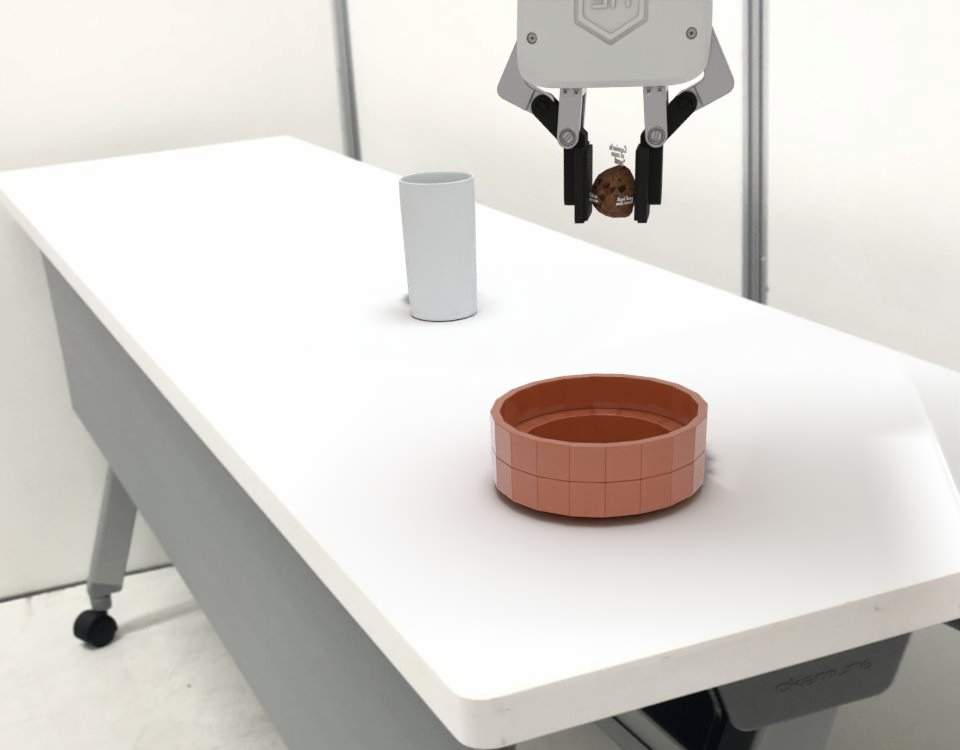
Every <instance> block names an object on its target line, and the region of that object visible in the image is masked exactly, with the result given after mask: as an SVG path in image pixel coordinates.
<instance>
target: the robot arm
mask: <svg viewBox="0 0 960 750" xmlns="http://www.w3.org/2000/svg"><path fill="white" fill-rule="evenodd" d="M516 1H517V2H516V41H515V43H514V45H513V48H512V50H511V52H510V55H509V57H508V60H507V63H506V65H505V67H504V69H503V72H502V74H501V76H500V79H499V81H498V84H497V87H496V93H497V95H498V97H499V98H500V99H502V100H504V101H506V102H508V103H510V104H511V105H513V106H515V107H517V108H519V109H521V110H523V111H525V112H528V113H530V114H532V115H533V116H534V117H535V118H536V120H537V121H538V122H539V123H541V125H543V127H544V128H545V129H546V130H547V131H548V132H549V133H550V134H551V136H553V137H554V139H556V141H557V144H558V145H559V147H561V148H562V149H563V205H564V206H573V208H574V209H573V210H574V211H573V212H574V213H573V215H574V217H573V218H574V224H575V225H576V224H577V225H579V224H585V223H586V222H589V219H590V217H591V215H592V213H593V204H592V201H590V200H589V198H590V192H591V189H592V185H593V183H594V179H593V175H594V174H593V173H594V168H593V166H594V158H593V157H594V144H592V143H591V141H590V140H589V131H587V130H586V129H585V123H586V109H587V94H588V89H599V88H601V89H603V88H606V89H607V88H636V87H637V88H638V87H642V99H643V101H642V102H643V118H644V119H643V120H644V129H643V130H642V131H641V134H640V137H639V138H640V139H639V143H638V144H637V146H636V149H635V152H634V155H635V156H634V157H635V159H634V179H635V194H634V207H633V221H635V222H637V224H647V223H648V220H649V217H650V212H651V206H661V204H662V197H663V171H664V170H663V169H664V145H665V143H666V142H667V141H668V140H669V139H670V138H671V137H672V135H674V133H675V132H676V131H677V130H678V129H679V128H680V127H681V126H682V125H684V123H685V122H686V121H687V120H688V119H689V118H690V117H691V116H692V115H693V114H694V113H695V112H697V111H698V110H701V109H702V108H704V107H706V106H709V105H710V104H712V103H714V102H716V101H717V100H719V99H721V98H723V97H725V96H726V95H728V94H730V93H731V92H732V91H733V90H734V88H735V76H734V75H733V72H732V69H731V67H730V65H729V62H728V60H727V57H726V55H725V53H724V50H723V47H722V46H721V43H720V41H719V37H718V36H717V33H716V31H715V29H714V27H713V12H714V11H713V2H714V0H516ZM701 74H703V76H702V78H701V79H699V80H697V82H695V83H692V84H691V85H690V86H688V87H686V88H684V89H682V90H680V91H679V92H678V93H677V94H676V95H675V96H674V97H673V98H672V100H670V91H669V86H676V85H683V84H686V83H688V82H691V81H693V80H695V79H696V78H698V77H700V76H701ZM541 88H543V89H544V88H545V89H559V97H558V98H559V99H558V98H557V97H556V96H555V95H553V93H551V92H549V91H545V90H543V89H541Z"/></svg>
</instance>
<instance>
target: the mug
mask: <svg viewBox="0 0 960 750" xmlns="http://www.w3.org/2000/svg"><path fill="white" fill-rule="evenodd" d="M398 189H399V190H398V191H399V205H400V214H401V215H400V217H401V228H402V237H403V247H404V259H405V270H406V281H407V282H406V283H407V291H408V300H409V311H410V315H411V316H412V317H414V318H416V319H419V320H422V321H429V322H446V321H455V320H456V321H457V320H461V319H465V318H468V317H471V316H473V315H474V314H476V313H477V311H478V298H477V297H478V296H477V295H478V293H477V290H478V287H477V284H478V278H477V274H478V273H477V233H476V227H477V226H476V193H475V175H474V174H473V173H471V172H467V171H461V170H432V171H422V172H414V173H410V174H405V175H402V176H400V177H399V178H398Z"/></svg>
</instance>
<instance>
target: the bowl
mask: <svg viewBox="0 0 960 750" xmlns="http://www.w3.org/2000/svg"><path fill="white" fill-rule="evenodd" d="M708 411H709V404H708V402H707V401H706V400H705V399H704V398H703V397H702V396H701V394H699V392H696V391H694V390H692V389H691V388H688V387H686V386H684V385H682V384H679V383H677V382H673V381H669V380H665V379H661V378H657V377H652V376H645V375H644V376H643V375H635V374H626V373H598V372H597V373H595V372H594V373H584V374H571V375H570V374H569V375H560V376H554V377H551V378H550V377H549V378H545V379H539V380H536V381H535V380H534V381H530V382H529V383H526V384H522V385H519V386H517V387H514V388H512V389H510V390H508V391H506V392H505V393H503V394H502V395H501V396H499V397H498V398H496V399H495V400H494V403H493V405H492V406H491V408H490V410H489V418H490V419H489V420H490V421H489V422H490V440H491V441H490V444H491V468H492V469H491V470H492V479H493V481H494V485H495V486H496V489H497V490H498V491H499V492H501V493H502V494H503V495H504V496H505V497H507V498H508V499H510V500H511V501H512V502H514V503H516V504H519V505H522V506H524V507H526V508H530V509H532V510H535V511H539V512H545V513H550V514H556V515H561V516H567V517H576V518H588V519H591V518H592V519H595V518H597V519H605V518H618V517H627V516H633V515H642V514H646V513H650V512H654V511H658V510H662V509H665V508H669V507H672V506H674V505H676V504H678V503H680V502H682V501H685V500H686V499H689V498H690V497H692V496H693V495H694V494H695V493H696V492H697V491H698V490H699V489H700V488H701V487H702V486H703V484H704V481H705V468H706V467H705V465H706V451H707V430H708V413H709V412H708Z"/></svg>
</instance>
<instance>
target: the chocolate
mask: <svg viewBox="0 0 960 750" xmlns="http://www.w3.org/2000/svg"><path fill="white" fill-rule="evenodd" d="M608 149H609V151H611V152H610V155H611V157H613V158H614V164H616V165H614V166H612V167H609V168H606V169H604V170H603V171H601V172H600V173H598V175H596V177H595V179H594V180H593V185H592V189H591V192H590V198H589V200H590V201H592V207H594V209H595V210H596V211H597V212H598V213H600V214H601V215H603V216H605V217H608V218H611V219H620V218H621V219H625V218H628V217H630V216H631V215H632V213H634V194H635V175H634V174H633V173H632V171H631V169H630V168H629V167H628V166H626V165H625V164H624V163H625V162H626V159H625V154H626V153H627V151H628V149H627V145H624V146H623V148H622V147H619V146H618V144H616V146H614V144H613V143H611V144H610V145H609V146H608ZM618 152H619V153H618ZM619 158H620V159H619ZM621 159H623V160H621Z"/></svg>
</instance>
